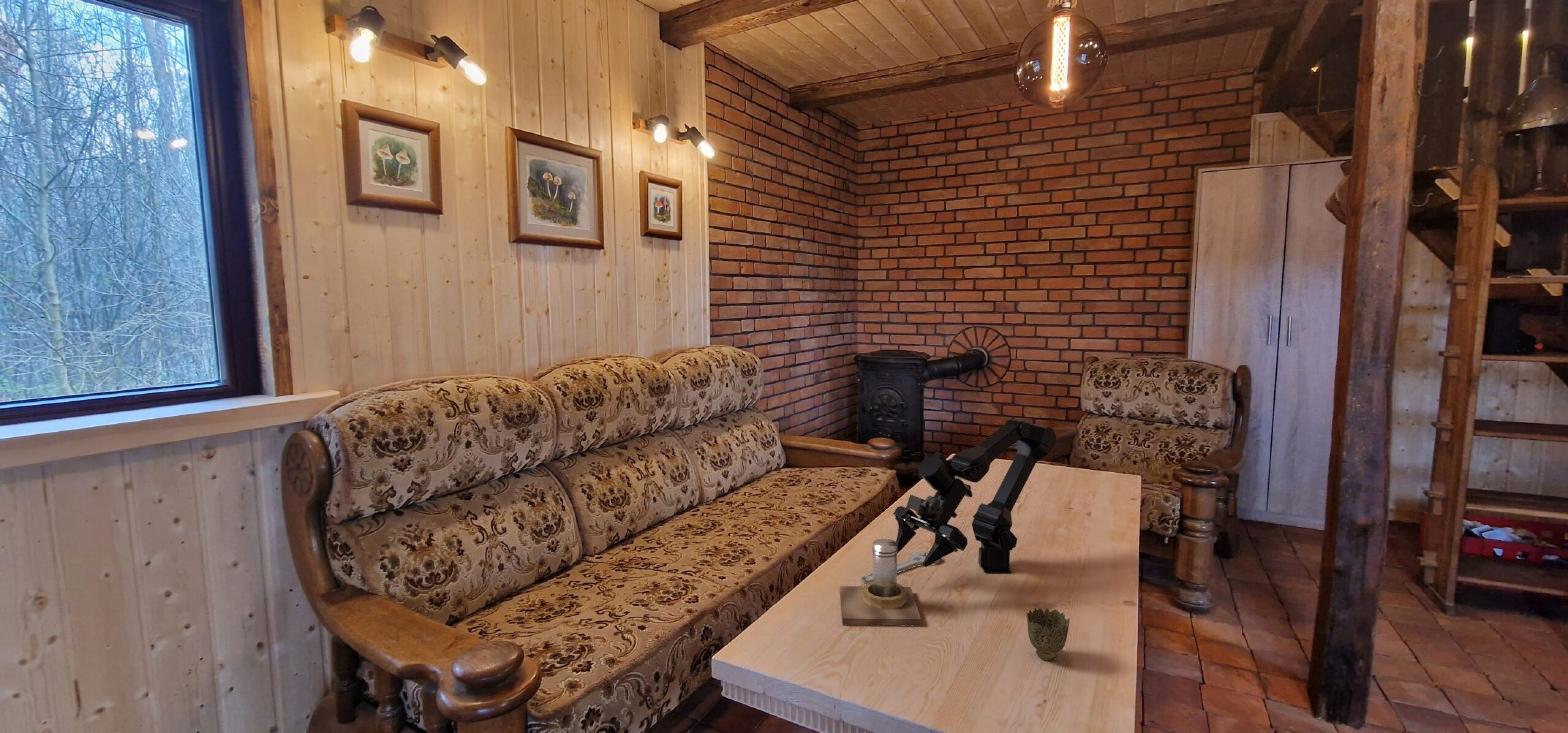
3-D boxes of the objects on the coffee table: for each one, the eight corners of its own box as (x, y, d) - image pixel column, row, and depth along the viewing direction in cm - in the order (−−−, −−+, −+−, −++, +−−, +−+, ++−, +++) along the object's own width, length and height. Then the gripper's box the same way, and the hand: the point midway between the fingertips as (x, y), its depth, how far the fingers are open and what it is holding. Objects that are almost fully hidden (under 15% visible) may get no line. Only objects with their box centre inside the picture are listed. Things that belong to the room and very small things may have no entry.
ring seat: (910, 593, 153) (910, 578, 152) (921, 626, 138) (921, 609, 138) (839, 592, 154) (839, 577, 153) (842, 625, 139) (842, 609, 138)
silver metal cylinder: (900, 596, 148) (900, 541, 147) (892, 606, 143) (892, 549, 142) (877, 591, 151) (877, 537, 149) (868, 601, 146) (868, 545, 144)
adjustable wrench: (865, 588, 157) (865, 581, 157) (848, 578, 162) (848, 571, 162) (943, 563, 170) (944, 556, 170) (925, 555, 175) (926, 548, 175)
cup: (1018, 647, 129) (1019, 607, 129) (1055, 645, 130) (1057, 606, 129) (1036, 669, 122) (1037, 627, 121) (1075, 667, 123) (1077, 625, 122)
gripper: (899, 472, 159) (862, 527, 154) (959, 492, 143) (920, 553, 138) (923, 498, 164) (888, 552, 159) (984, 520, 148) (947, 581, 143)
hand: (909, 558), depth 150 cm, fingers open, 9 cm apart
